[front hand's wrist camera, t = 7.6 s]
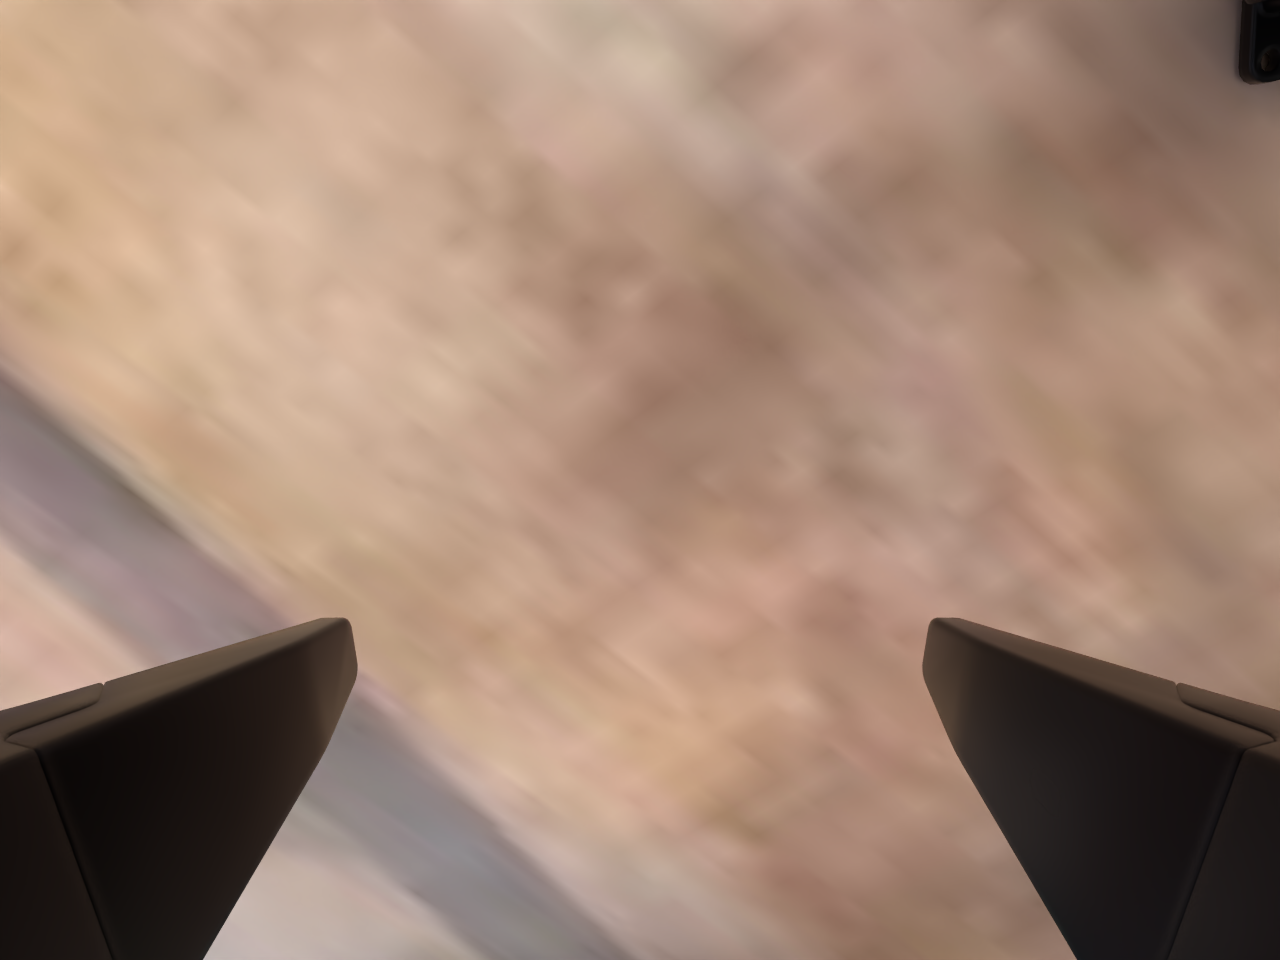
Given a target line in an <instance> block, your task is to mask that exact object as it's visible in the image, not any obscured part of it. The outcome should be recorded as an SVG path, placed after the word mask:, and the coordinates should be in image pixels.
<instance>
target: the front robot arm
mask: <svg viewBox="0 0 1280 960" xmlns="http://www.w3.org/2000/svg"><path fill="white" fill-rule="evenodd" d="M1265 53H1267V54H1268V55H1269V64H1268V66H1267V68H1266V69H1265V70H1263V69H1262V68H1261V59H1262V56H1263V55H1264V54H1265ZM1239 74H1240V77H1241V78H1242V79H1243V81H1244V82H1246V83H1248V84H1261V83H1267V82H1272V81H1276V80H1280V0H1242V16H1241V34H1240V52H1239ZM356 676H357V658H356V651H355V645H354V639H353V633H352V627H351V624H350V622H349V621H348V620H347V619H346V618H320V619H316V620H313V621H310V622H306V623H303V624H300V625H296V626H293V627H289V628H286V629H283V630H279V631H276V632H273V633H269V634H266V635H262V636H259V637H256V638H252V639H249V640H246V641H242V642H239V643H235V644H232V645H229V646H225V647H222V648H218V649H215V650H212V651H208V652H205V653H202V654H198V655H195V656H191V657H188V658H185V659H181V660H178V661H175V662H171V663H168V664H164V665H161V666H158V667H154V668H151V669H148V670H144V671H141V672H137V673H134V674H131V675H127V676H124V677H120V678H117V679H114V680H110V681H107V682H105V684H104V686H103V684H102V683H97V684H93V685H90V686H87V687H83V688H80V689H76V690H73V691H70V692H66V693H63V694H59V695H56V696H52V697H49V698H45V699H42V700H38V701H35V702H31V703H27V704H24V705H20V706H16V707H13V708H9V709H5V710H2V711H0V960H203V959H204V957H205V955H206V954H207V952H208V950H209V948H210V947H211V945H212V943H213V942H214V940H215V938H216V936H217V935H218V933H219V931H220V930H221V928H222V926H223V925H224V923H225V921H226V919H227V918H228V916H229V914H230V913H231V911H232V909H233V908H234V906H235V904H236V902H237V901H238V899H239V897H240V896H241V894H242V892H243V891H244V889H245V887H246V885H247V884H248V882H249V880H250V879H251V877H252V875H253V874H254V872H255V870H256V868H257V867H258V865H259V863H260V862H261V860H262V858H263V856H264V855H265V853H266V851H267V850H268V848H269V846H270V845H271V843H272V841H273V839H274V838H275V836H276V834H277V833H278V831H279V829H280V828H281V826H282V824H283V822H284V821H285V819H286V817H287V816H288V814H289V812H290V811H291V809H292V807H293V805H294V804H295V802H296V800H297V799H298V797H299V795H300V794H301V792H302V790H303V788H304V787H305V785H306V783H307V782H308V780H309V778H310V777H311V775H312V773H313V771H314V770H315V768H316V766H317V765H318V763H319V761H320V759H321V757H322V756H323V754H324V752H325V750H326V748H327V746H328V744H329V742H330V739H331V737H332V735H333V732H334V730H335V728H336V725H337V723H338V721H339V718H340V716H341V714H342V711H343V709H344V707H345V704H346V702H347V700H348V697H349V695H350V693H351V690H352V688H353V686H354V683H355V680H356ZM923 676H924V680H925V683H926V686H927V688H928V690H929V693H930V695H931V697H932V700H933V702H934V704H935V707H936V709H937V711H938V714H939V716H940V718H941V721H942V723H943V725H944V728H945V730H946V732H947V735H948V737H949V739H950V742H951V744H952V746H953V748H954V750H955V752H956V754H957V756H958V757H959V759H960V761H961V763H962V765H963V766H964V768H965V770H966V771H967V773H968V775H969V777H970V778H971V780H972V782H973V783H974V785H975V787H976V788H977V790H978V792H979V794H980V795H981V797H982V799H983V800H984V802H985V804H986V805H987V807H988V809H989V811H990V812H991V814H992V816H993V817H994V819H995V821H996V822H997V824H998V826H999V828H1000V829H1001V831H1002V833H1003V834H1004V836H1005V838H1006V839H1007V841H1008V843H1009V845H1010V846H1011V848H1012V850H1013V851H1014V853H1015V855H1016V856H1017V858H1018V860H1019V862H1020V863H1021V865H1022V867H1023V868H1024V870H1025V872H1026V874H1027V875H1028V877H1029V879H1030V880H1031V882H1032V884H1033V885H1034V887H1035V889H1036V891H1037V892H1038V894H1039V896H1040V897H1041V899H1042V901H1043V902H1044V904H1045V906H1046V908H1047V909H1048V911H1049V913H1050V914H1051V916H1052V918H1053V919H1054V921H1055V923H1056V925H1057V926H1058V928H1059V930H1060V931H1061V933H1062V935H1063V936H1064V938H1065V940H1066V942H1067V943H1068V945H1069V947H1070V948H1071V950H1072V952H1073V954H1074V955H1075V957H1076V959H1077V960H1280V711H1278V710H1275V709H1271V708H1267V707H1264V706H1260V705H1256V704H1253V703H1249V702H1245V701H1242V700H1238V699H1235V698H1231V697H1228V696H1224V695H1221V694H1217V693H1214V692H1210V691H1207V690H1204V689H1200V688H1197V687H1193V686H1190V685H1187V684H1183V683H1178V684H1177V686H1176V684H1175V682H1173V681H1170V680H1166V679H1163V678H1160V677H1156V676H1153V675H1149V674H1146V673H1143V672H1139V671H1136V670H1132V669H1129V668H1126V667H1122V666H1119V665H1116V664H1112V663H1109V662H1105V661H1102V660H1099V659H1095V658H1092V657H1089V656H1085V655H1082V654H1078V653H1075V652H1072V651H1068V650H1065V649H1062V648H1058V647H1055V646H1051V645H1048V644H1045V643H1041V642H1038V641H1035V640H1031V639H1028V638H1024V637H1021V636H1018V635H1014V634H1011V633H1007V632H1004V631H1001V630H997V629H994V628H991V627H987V626H984V625H980V624H977V623H974V622H970V621H967V620H964V619H960V618H934V619H933V620H932V621H931V622H930V624H929V627H928V633H927V639H926V645H925V651H924V658H923Z"/></svg>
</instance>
